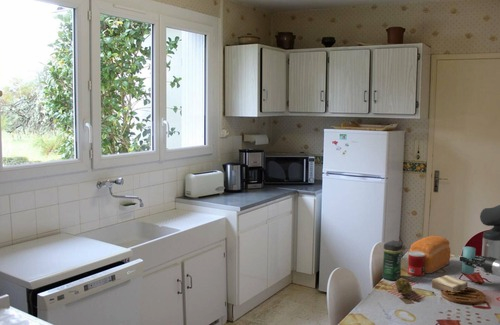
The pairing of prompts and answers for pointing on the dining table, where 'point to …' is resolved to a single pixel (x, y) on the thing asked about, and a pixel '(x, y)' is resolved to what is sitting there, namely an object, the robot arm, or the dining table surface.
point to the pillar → (469, 253)
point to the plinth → (448, 284)
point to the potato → (403, 286)
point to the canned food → (416, 263)
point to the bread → (433, 252)
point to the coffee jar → (392, 260)
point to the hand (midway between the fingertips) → (463, 257)
